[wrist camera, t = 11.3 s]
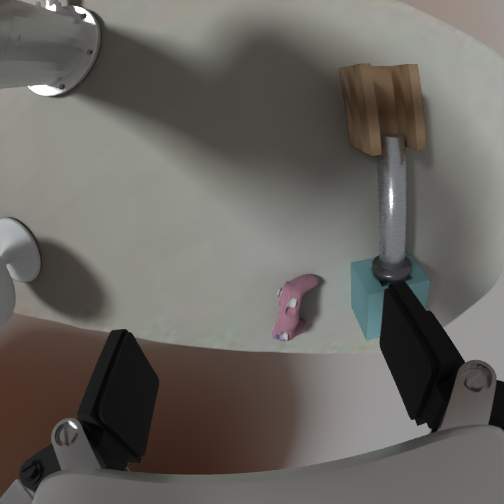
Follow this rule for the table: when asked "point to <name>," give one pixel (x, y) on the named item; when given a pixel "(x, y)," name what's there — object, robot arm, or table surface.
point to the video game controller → (292, 307)
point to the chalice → (15, 263)
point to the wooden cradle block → (383, 105)
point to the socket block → (380, 294)
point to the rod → (392, 212)
